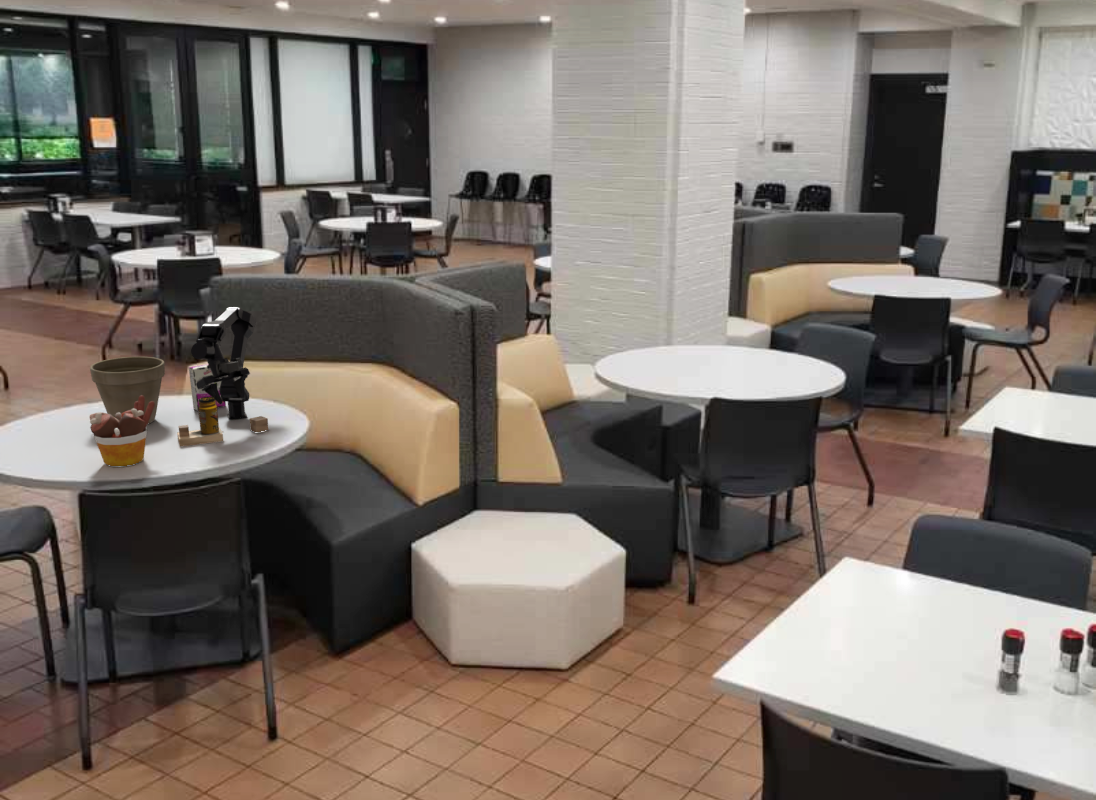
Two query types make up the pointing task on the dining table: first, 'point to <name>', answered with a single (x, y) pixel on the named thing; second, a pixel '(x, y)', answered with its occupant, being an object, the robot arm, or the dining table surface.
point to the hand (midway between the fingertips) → (232, 401)
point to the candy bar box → (196, 375)
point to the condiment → (207, 417)
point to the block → (259, 424)
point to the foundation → (195, 437)
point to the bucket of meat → (122, 434)
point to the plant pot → (128, 382)
